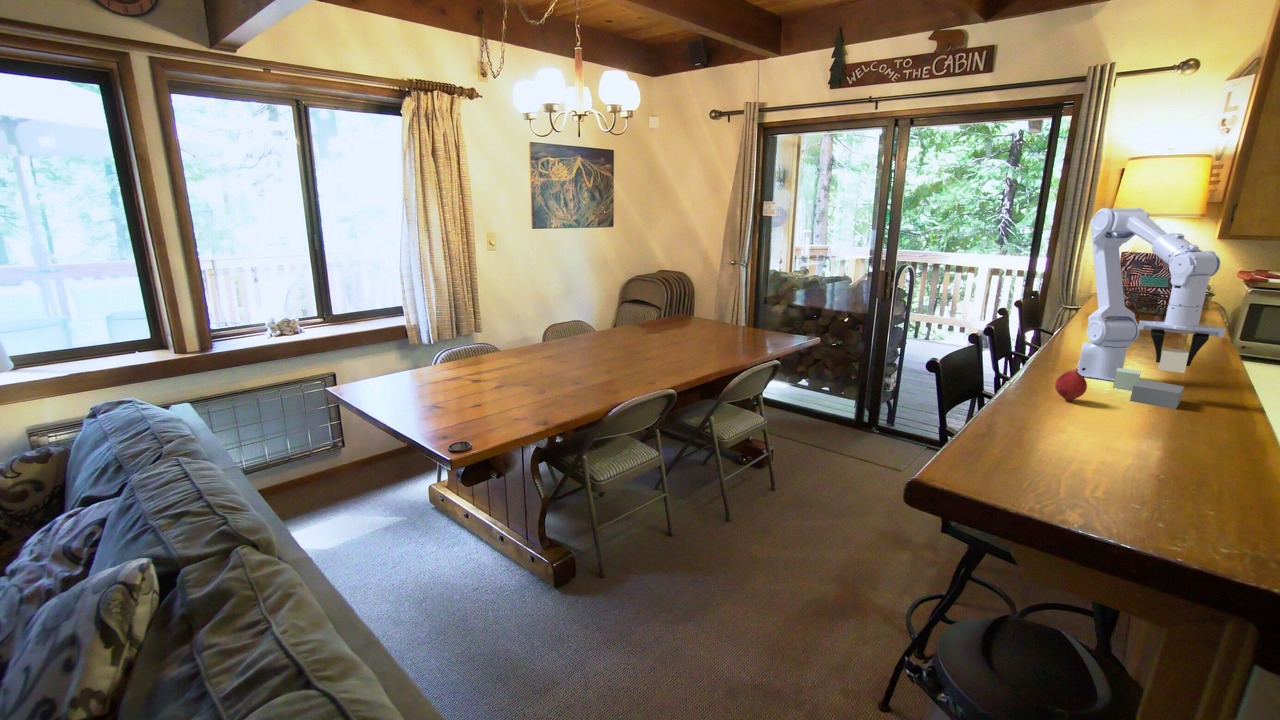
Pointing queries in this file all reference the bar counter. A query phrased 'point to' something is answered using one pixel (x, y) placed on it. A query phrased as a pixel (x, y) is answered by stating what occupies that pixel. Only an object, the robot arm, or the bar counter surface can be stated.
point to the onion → (1071, 385)
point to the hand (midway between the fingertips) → (1172, 363)
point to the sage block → (1126, 378)
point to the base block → (1157, 393)
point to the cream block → (1173, 360)
